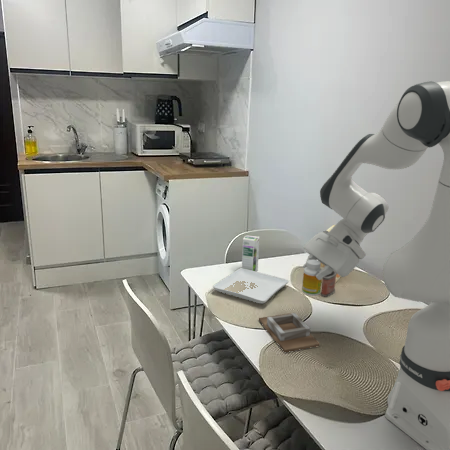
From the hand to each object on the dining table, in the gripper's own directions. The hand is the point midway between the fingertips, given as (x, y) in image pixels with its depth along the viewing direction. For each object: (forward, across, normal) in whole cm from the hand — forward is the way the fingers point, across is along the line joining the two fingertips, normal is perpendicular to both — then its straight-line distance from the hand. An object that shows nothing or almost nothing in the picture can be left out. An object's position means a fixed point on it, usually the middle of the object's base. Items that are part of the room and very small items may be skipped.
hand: (310, 273), depth 123 cm
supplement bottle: (+4, 0, +5) cm, 6 cm away
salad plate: (+18, -29, +8) cm, 35 cm away
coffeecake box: (-7, -31, +33) cm, 46 cm away
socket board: (+18, +1, +8) cm, 19 cm away
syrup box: (+13, -45, +12) cm, 48 cm away
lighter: (-1, -19, +27) cm, 33 cm away
